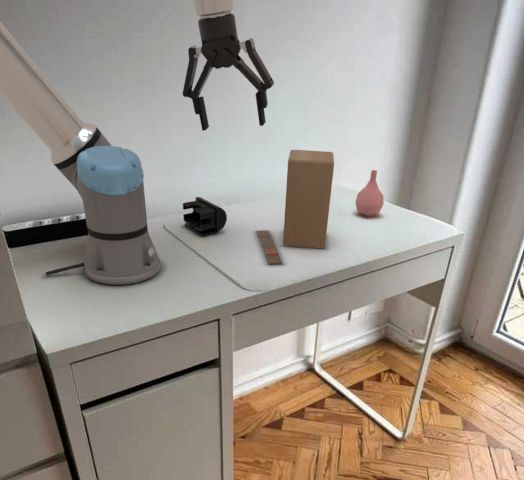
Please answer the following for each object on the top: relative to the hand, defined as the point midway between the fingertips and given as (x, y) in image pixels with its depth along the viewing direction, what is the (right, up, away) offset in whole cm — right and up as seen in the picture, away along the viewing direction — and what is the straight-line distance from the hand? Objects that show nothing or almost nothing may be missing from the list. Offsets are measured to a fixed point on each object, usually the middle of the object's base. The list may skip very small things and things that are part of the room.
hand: (233, 126), depth 113 cm
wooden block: (+17, -24, +10) cm, 31 cm away
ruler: (+8, -26, +5) cm, 28 cm away
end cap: (-8, -20, +14) cm, 26 cm away
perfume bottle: (+36, -13, +28) cm, 47 cm away
